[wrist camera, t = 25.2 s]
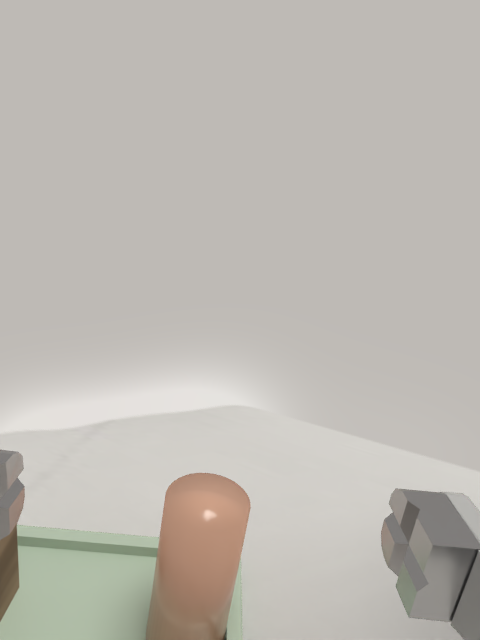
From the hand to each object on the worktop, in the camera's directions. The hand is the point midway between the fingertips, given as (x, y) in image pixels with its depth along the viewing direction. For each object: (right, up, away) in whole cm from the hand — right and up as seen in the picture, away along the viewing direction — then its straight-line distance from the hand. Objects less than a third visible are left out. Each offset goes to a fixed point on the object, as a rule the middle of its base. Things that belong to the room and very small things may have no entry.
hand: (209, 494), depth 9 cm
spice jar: (-3, -16, +17) cm, 24 cm away
